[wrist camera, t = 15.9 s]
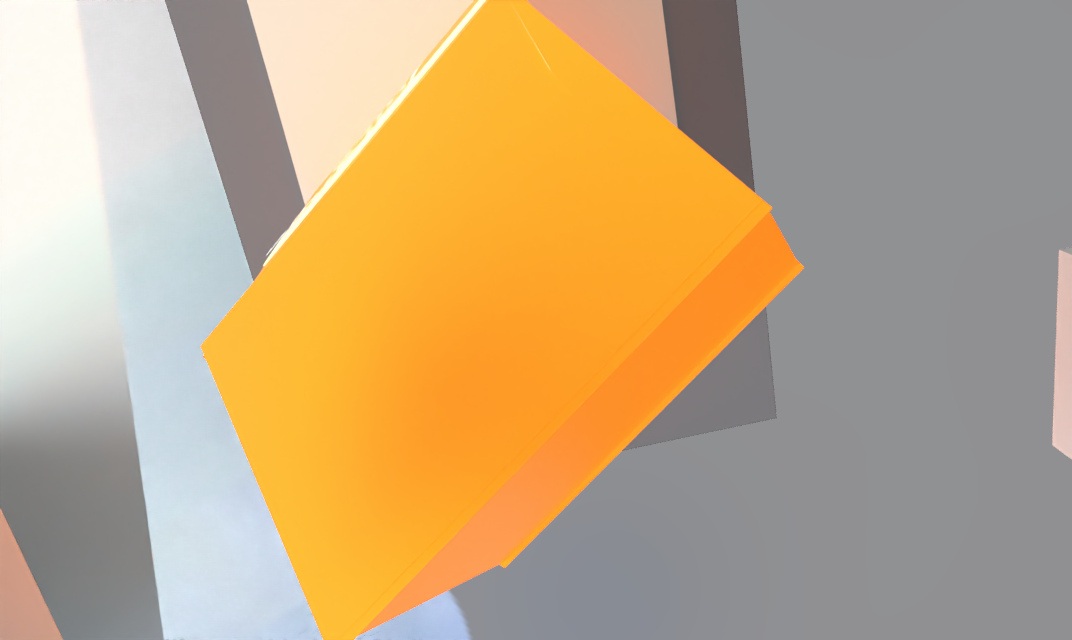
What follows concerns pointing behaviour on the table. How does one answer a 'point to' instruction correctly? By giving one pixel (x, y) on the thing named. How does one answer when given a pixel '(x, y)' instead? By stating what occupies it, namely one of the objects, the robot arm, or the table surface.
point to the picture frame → (384, 67)
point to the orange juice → (481, 315)
